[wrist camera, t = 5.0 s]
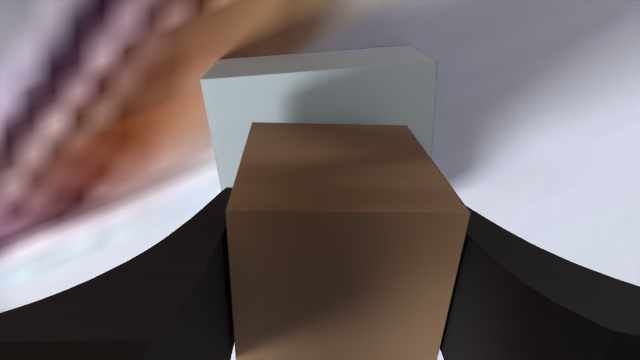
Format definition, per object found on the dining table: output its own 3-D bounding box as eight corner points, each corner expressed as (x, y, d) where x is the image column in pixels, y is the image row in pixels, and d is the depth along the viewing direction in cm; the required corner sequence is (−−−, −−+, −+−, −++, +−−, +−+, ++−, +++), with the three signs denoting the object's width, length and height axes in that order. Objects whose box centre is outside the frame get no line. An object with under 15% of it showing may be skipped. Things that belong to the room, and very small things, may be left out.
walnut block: (406, 125, 12) (470, 212, 8) (389, 251, 14) (432, 379, 10) (252, 122, 12) (225, 210, 7) (256, 251, 14) (237, 382, 9)
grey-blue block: (408, 43, 15) (436, 61, 12) (403, 206, 19) (425, 253, 15) (219, 58, 15) (200, 79, 12) (246, 219, 18) (236, 269, 15)
